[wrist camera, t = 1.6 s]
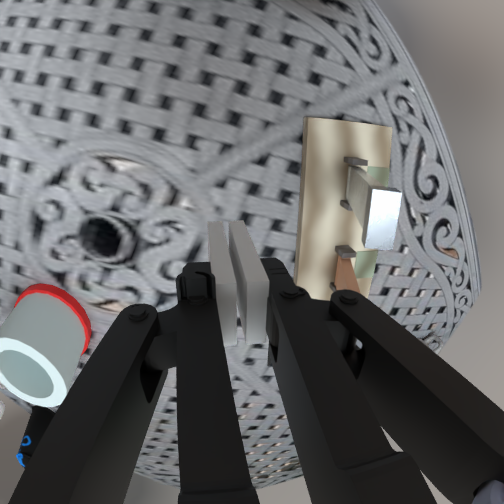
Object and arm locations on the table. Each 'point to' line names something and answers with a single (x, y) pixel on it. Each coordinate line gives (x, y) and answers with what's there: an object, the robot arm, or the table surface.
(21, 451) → the aerosol can
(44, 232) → the table surface
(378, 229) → the grey lever
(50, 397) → the container
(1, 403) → the figurine
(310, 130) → the switch panel
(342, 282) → the terracotta lever
